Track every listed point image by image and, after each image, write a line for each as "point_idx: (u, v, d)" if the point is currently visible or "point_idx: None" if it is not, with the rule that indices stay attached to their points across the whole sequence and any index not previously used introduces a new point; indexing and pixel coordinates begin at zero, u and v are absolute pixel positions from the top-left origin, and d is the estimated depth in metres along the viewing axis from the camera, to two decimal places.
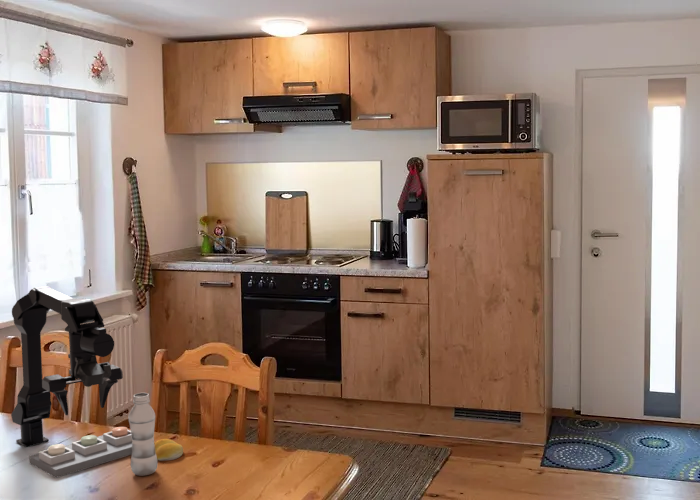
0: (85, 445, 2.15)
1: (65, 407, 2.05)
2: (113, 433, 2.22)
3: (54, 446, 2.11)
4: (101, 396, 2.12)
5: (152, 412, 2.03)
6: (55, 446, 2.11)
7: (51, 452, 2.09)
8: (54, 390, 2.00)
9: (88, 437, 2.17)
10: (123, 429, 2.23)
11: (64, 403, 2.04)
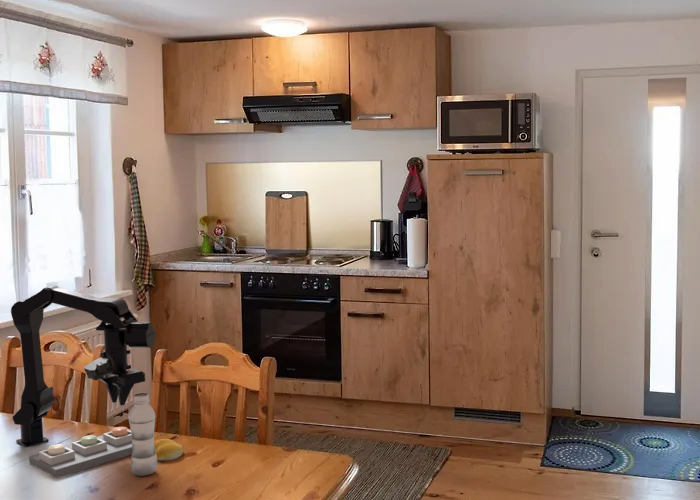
0: (85, 445, 2.15)
1: (109, 394, 2.23)
2: (113, 433, 2.22)
3: (54, 446, 2.11)
4: None
5: (152, 412, 2.03)
6: (55, 446, 2.11)
7: (51, 452, 2.09)
8: None
9: (88, 437, 2.17)
10: (123, 429, 2.23)
11: (108, 390, 2.23)
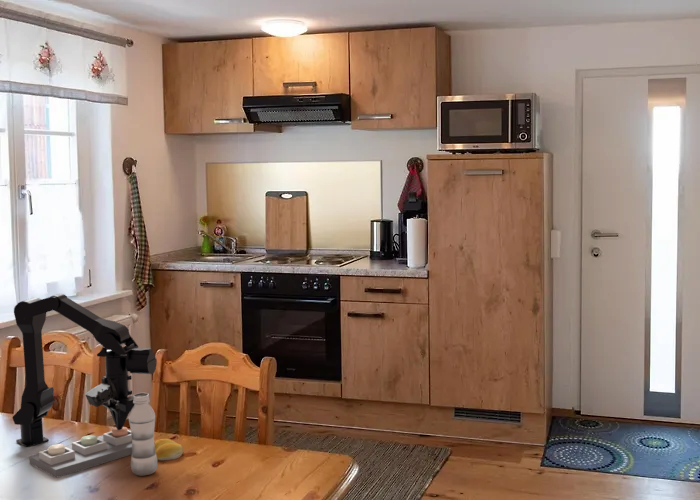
0: (85, 445, 2.15)
1: (114, 421, 2.23)
2: (113, 433, 2.22)
3: (54, 446, 2.11)
4: None
5: (152, 412, 2.03)
6: (55, 446, 2.11)
7: (51, 452, 2.09)
8: None
9: (88, 437, 2.17)
10: (123, 430, 2.23)
11: (113, 417, 2.23)
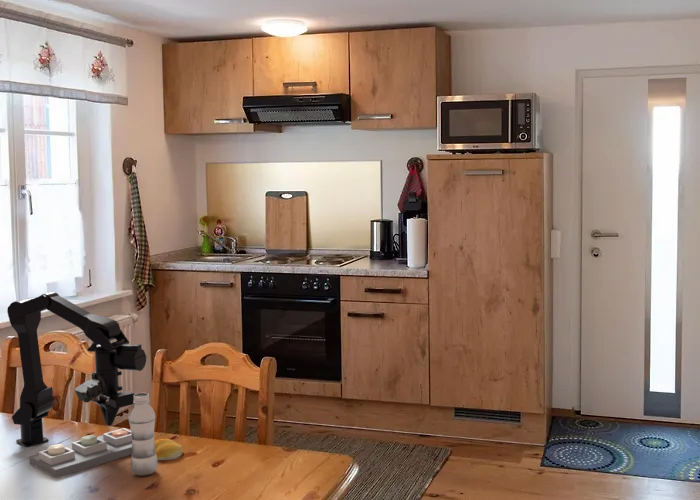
0: (85, 445, 2.15)
1: (104, 417, 2.21)
2: None
3: (54, 446, 2.11)
4: None
5: (152, 412, 2.03)
6: (55, 446, 2.11)
7: (51, 452, 2.09)
8: None
9: (88, 437, 2.17)
10: (123, 433, 2.23)
11: (102, 413, 2.21)
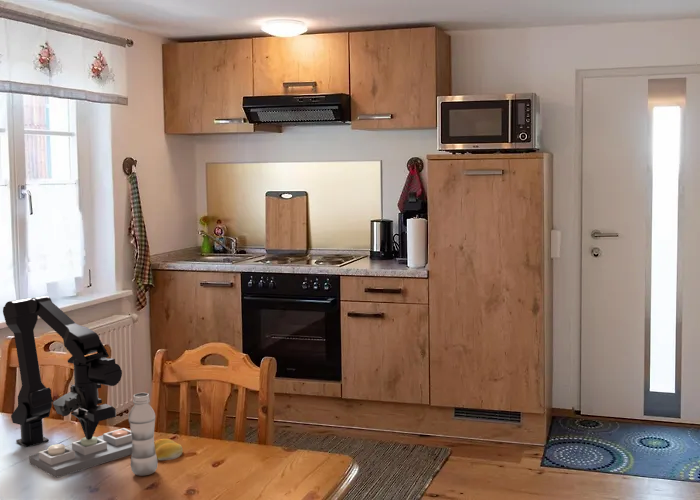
0: (85, 446, 2.15)
1: (83, 430, 2.16)
2: None
3: (54, 446, 2.11)
4: None
5: (152, 412, 2.03)
6: (55, 446, 2.11)
7: (51, 452, 2.09)
8: None
9: None
10: (123, 433, 2.23)
11: (82, 426, 2.16)
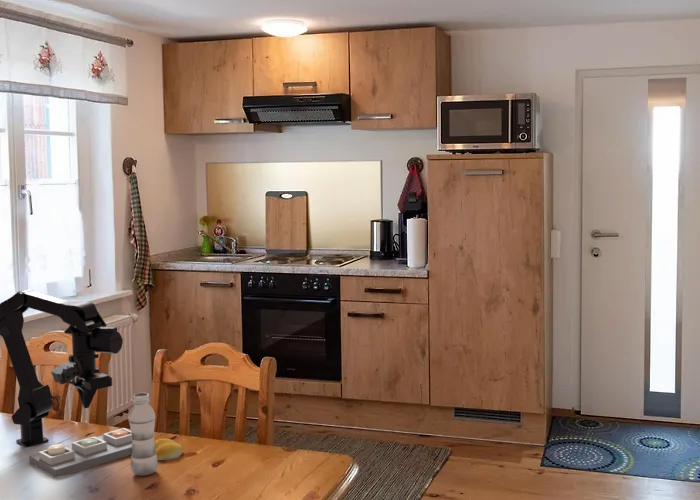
0: None
1: (81, 399, 2.21)
2: None
3: (54, 446, 2.11)
4: None
5: (152, 412, 2.03)
6: (55, 446, 2.11)
7: (51, 452, 2.09)
8: None
9: (88, 441, 2.17)
10: (123, 433, 2.23)
11: (79, 395, 2.21)
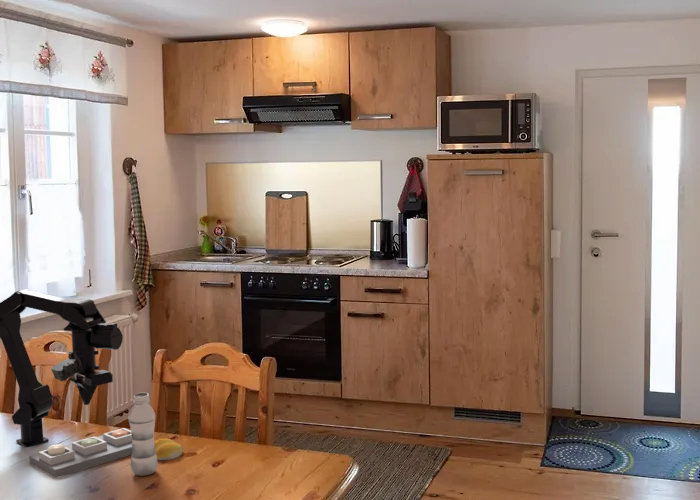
0: None
1: (81, 396, 2.22)
2: None
3: (54, 446, 2.11)
4: None
5: (152, 412, 2.03)
6: (55, 446, 2.11)
7: (51, 452, 2.09)
8: None
9: (88, 441, 2.17)
10: (123, 433, 2.23)
11: (80, 392, 2.22)
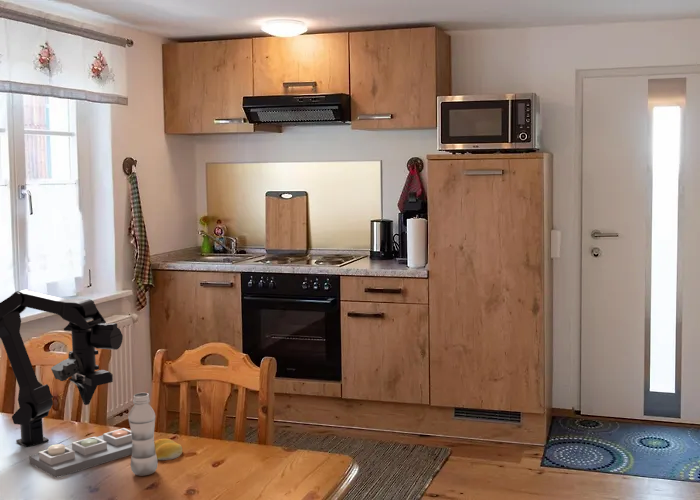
0: None
1: (81, 396, 2.22)
2: None
3: (54, 446, 2.11)
4: None
5: (152, 412, 2.03)
6: (55, 446, 2.11)
7: (51, 452, 2.09)
8: None
9: (88, 441, 2.17)
10: (123, 433, 2.23)
11: (80, 392, 2.22)
